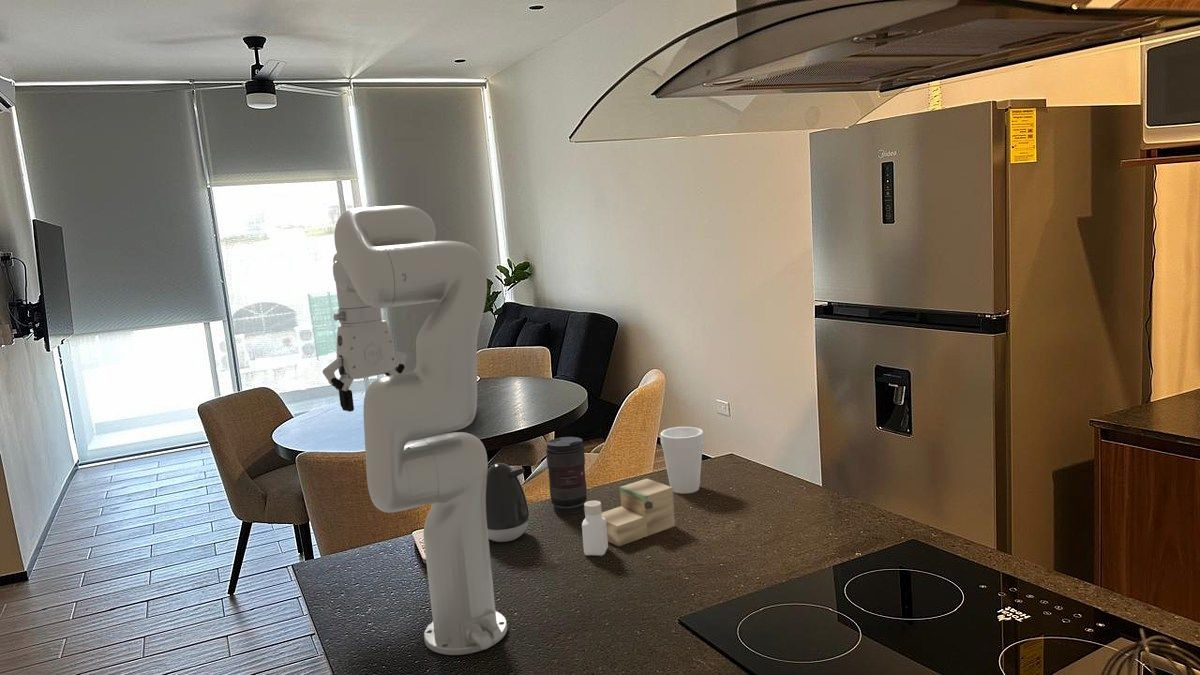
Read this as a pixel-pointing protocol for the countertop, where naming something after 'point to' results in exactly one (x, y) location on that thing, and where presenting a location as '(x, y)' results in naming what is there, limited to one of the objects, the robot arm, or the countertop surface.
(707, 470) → the countertop surface
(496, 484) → the pump dispenser
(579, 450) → the camera lens
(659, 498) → the wooden step block
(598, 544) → the salt shaker
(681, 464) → the foam cup
